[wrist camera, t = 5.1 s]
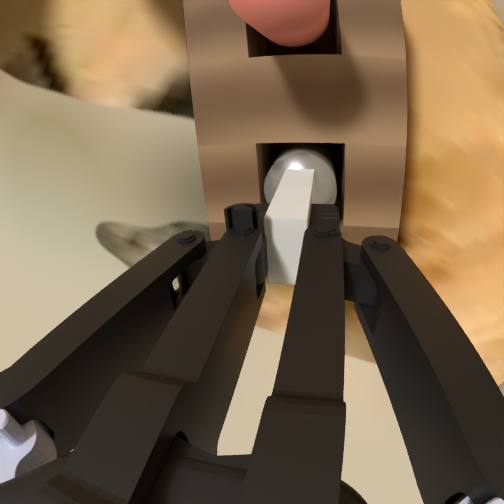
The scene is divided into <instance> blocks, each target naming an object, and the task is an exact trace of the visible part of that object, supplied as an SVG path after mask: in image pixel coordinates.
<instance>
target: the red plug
mask: <svg viewBox="0 0 504 504" xmlns="http://www.w3.org/2000/svg"><path fill="white" fill-rule="evenodd" d="M229 3H230V5H231V7H232V9H233V10H234V12H235V13H236V14H237V15H238V16H239V17H240V18H241V19H242V20H243V21H245V22H246V23H247V24H249V25H250V26H252V27H253V28H254V29H256V30H257V31H258V32H260V33H261V34H262V35H264V36H265V37H266V38H268V39H269V40H271V41H272V42H274V43H276V44H279V45H281V46H286V47H301V46H305V45H308V44H311V43H313V42H314V41H316V40H317V39H319V38H320V37H321V36H322V35H323V33H324V32H325V30H326V28H327V26H328V23H329V12H330V0H229Z"/></svg>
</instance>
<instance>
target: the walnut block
mask: <svg viewBox="0 0 504 504" xmlns="http://www.w3.org/2000/svg"><path fill="white" fill-rule="evenodd" d="M332 5H333V15H334V25H335V36H336V48H337V54H302V55H277V56H267V54H266V42H265V36H264V35H262V34H261V33H260V32H258V31H257V30H256V29H254V28H253V27H252V26H250V25H249V24H247V23H246V22H245V21H243V20H242V19H241V18H240V17H239V16H238V15H237V14H236V13H235V12H234V10H233V9H232V7H231V5H230V3H229V0H183V7H184V20H185V32H186V43H187V53H188V64H189V74H190V83H191V92H192V101H193V110H194V119H195V127H196V135H197V143H198V151H199V158H200V166H201V174H202V181H203V188H204V195H205V202H206V209H207V216H208V223H209V229H210V236H211V241H214V240H220V239H221V238H222V236H223V235H224V233H225V232H226V224H225V216H224V209H225V208H226V207H228V206H231V205H234V204H238V203H253V204H256V203H267V200H266V198H265V193H264V183H265V179H266V176H267V174H268V172H269V170H270V169H271V167H272V166H273V164H274V149H273V143H340V193H337V195H336V200H335V203H334V205H335V206H336V207H337V208H338V209H339V223H340V231H341V233H342V238H343V239H345V240H346V241H348V242H350V243H354V244H357V245H361V243H362V241H363V239H364V238H366V237H368V236H374V235H376V236H378V235H383V236H387V237H389V238H391V239H394V240H395V241H396V242H397V238H398V231H399V224H400V215H401V207H402V197H403V187H404V175H405V161H406V141H407V69H406V50H405V37H404V26H403V16H402V8H401V0H332Z"/></svg>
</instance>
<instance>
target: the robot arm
mask: <svg viewBox="0 0 504 504" xmlns="http://www.w3.org/2000/svg"><path fill="white" fill-rule="evenodd" d="M224 216H225V224H226V232H225V233H224V235H223V236H222V238H221V239H220V240H214V241H206V242H205V237H204V234H203V233H202V232H199V231H192V230H188V231H183V232H182V233H178V234H176V235H174V236H173V237H171V238H170V239H169V240H167V241H166V242H164V243H163V244H162V245H160V246H159V247H158V248H156V249H155V250H154V251H152V252H151V253H150V254H148V255H147V256H146V257H144V258H143V259H142V260H140V261H139V262H138V263H136V264H135V265H134V266H132V267H131V268H130V269H128V270H127V271H126V272H124V273H123V274H122V275H121V276H119V277H118V278H117V279H115V280H114V281H113V282H112V283H110V284H109V285H108V286H106V287H105V288H104V289H102V290H101V291H100V292H99V293H97V294H96V295H95V296H94V297H92V298H91V299H90V300H89V301H87V302H86V303H85V304H84V305H83V306H81V307H80V308H79V309H78V310H77V311H75V312H74V313H73V314H71V315H70V316H69V317H68V318H67V319H65V320H64V321H63V322H62V323H60V324H59V325H58V326H57V327H56V328H54V329H53V330H52V331H51V332H50V333H48V334H47V335H46V336H45V337H44V338H43V339H41V340H40V341H39V342H38V343H37V344H36V345H35V346H33V347H32V348H31V349H30V350H29V351H28V352H26V353H25V354H24V355H23V356H22V357H21V358H20V359H19V360H17V361H16V362H15V363H14V364H13V365H12V366H11V367H9V368H7V369H5V370H4V371H2V372H0V504H367V502H366V501H365V500H364V499H363V498H362V496H361V495H360V494H359V493H358V492H357V491H355V490H354V489H353V488H352V487H351V486H349V485H348V484H347V483H345V482H344V481H342V480H341V472H342V463H343V451H344V438H345V423H346V422H345V421H346V403H345V402H344V401H343V390H344V358H345V302H344V299H345V300H349V301H353V302H355V303H354V306H355V311H356V313H357V315H358V318H359V320H360V323H361V325H362V328H363V330H364V332H365V335H366V337H367V340H368V342H369V345H370V348H371V350H372V353H373V355H374V358H375V360H376V363H377V366H378V368H379V371H380V373H381V376H382V379H383V382H384V384H385V387H386V390H387V393H388V395H389V398H390V401H391V404H392V407H393V409H394V412H395V415H396V418H397V421H398V424H399V427H400V430H401V433H402V436H403V439H404V443H405V446H406V449H407V452H408V455H409V458H410V461H411V465H412V468H413V472H414V475H415V478H416V482H417V486H418V488H419V491H420V494H421V497H422V499H423V502H424V504H504V397H503V395H502V393H501V391H500V389H499V387H498V386H497V384H496V382H495V380H494V379H493V377H492V375H491V374H490V372H489V370H488V369H487V367H486V365H485V364H484V362H483V360H482V359H481V357H480V355H479V354H478V352H477V351H476V349H475V348H474V346H473V344H472V343H471V341H470V340H469V338H468V337H467V335H466V334H465V332H464V331H463V329H462V328H461V326H460V325H459V323H458V322H457V320H456V319H455V317H454V316H453V315H452V313H451V312H450V310H449V309H448V307H447V306H446V305H445V303H444V302H443V300H442V299H441V298H440V296H439V295H438V294H437V292H436V291H435V289H434V288H433V287H432V285H431V284H430V283H429V281H428V280H427V279H426V278H425V276H424V275H423V274H422V272H421V271H420V270H419V268H418V267H417V266H416V265H415V263H414V262H413V261H412V260H411V258H410V257H409V256H408V255H407V253H406V252H405V251H404V250H403V248H402V247H401V246H400V245H399V243H397V242H396V241H395V240H394V239H391V238H389V237H387V236H383V235H378V236H376V235H374V236H368V237H366V238H364V239H363V241H362V243H361V245H357V244H354V243H350V242H348V241H346V240H345V239H343V238H342V233H341V231H340V223H339V209H338V208H337V207H336V206H335V205H334V204H315V189H314V169H286V170H285V173H284V175H283V177H282V179H281V181H280V184H279V186H278V188H277V190H276V192H275V195H274V197H273V199H272V201H271V203H256V204H253V203H238V204H234V205H231V206H228V207H226V208H225V209H224ZM266 275H267V276H268V283H274V284H292V285H295V287H294V292H293V298H292V303H291V308H290V313H289V318H288V323H287V328H286V333H285V338H284V343H283V347H282V352H281V357H280V361H279V366H278V370H277V375H276V379H275V384H274V388H273V392H272V395H271V396H268V397H267V399H266V401H265V405H264V408H263V412H262V416H261V420H260V424H259V428H258V431H257V435H256V439H255V443H254V447H253V450H252V454H249V455H225V456H217V445H218V439H219V436H220V433H221V430H222V427H223V424H224V421H225V418H226V415H227V412H228V409H229V406H230V403H231V400H232V397H233V394H234V390H235V387H236V384H237V381H238V378H239V375H240V372H241V369H242V365H243V362H244V359H245V356H246V353H247V350H248V346H249V343H250V340H251V337H252V333H253V330H254V327H255V324H256V321H257V317H258V314H259V311H260V308H261V304H262V301H263V298H264V294H265V291H266V286H265V278H266ZM176 277H177V279H178V283H179V288H178V289H177V290H174V288H173V285H172V282H173V280H174V279H175V278H176ZM73 449H74V450H73ZM71 450H73V451H71ZM70 451H71V452H70Z"/></svg>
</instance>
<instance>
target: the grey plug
mask: <svg viewBox="0 0 504 504" xmlns="http://www.w3.org/2000/svg"><path fill="white" fill-rule="evenodd" d="M286 169H314V189H315V204H334V203H335V200H336V195H337V187H336V176H335V167H334V160H333V157H332V154H331V153H330V151H329V150H328V148H327V147H326V146H325V145H323V144H322V143H288V144H287V145H286V146H285V147H284V148H283V150H282V151H281V153H280V154H279V156H278V158H277V159H276V161H275V162H274V164H273V166H272V167H271V169H270V170H269V172H268V174H267V176H266V179H265V183H264V193H265V198H266V200H267V203H271V201H272V199H273V197H274V195H275V192H276V190H277V188H278V186H279V184H280V181H281V179H282V177H283V175H284V173H285V170H286Z"/></svg>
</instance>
